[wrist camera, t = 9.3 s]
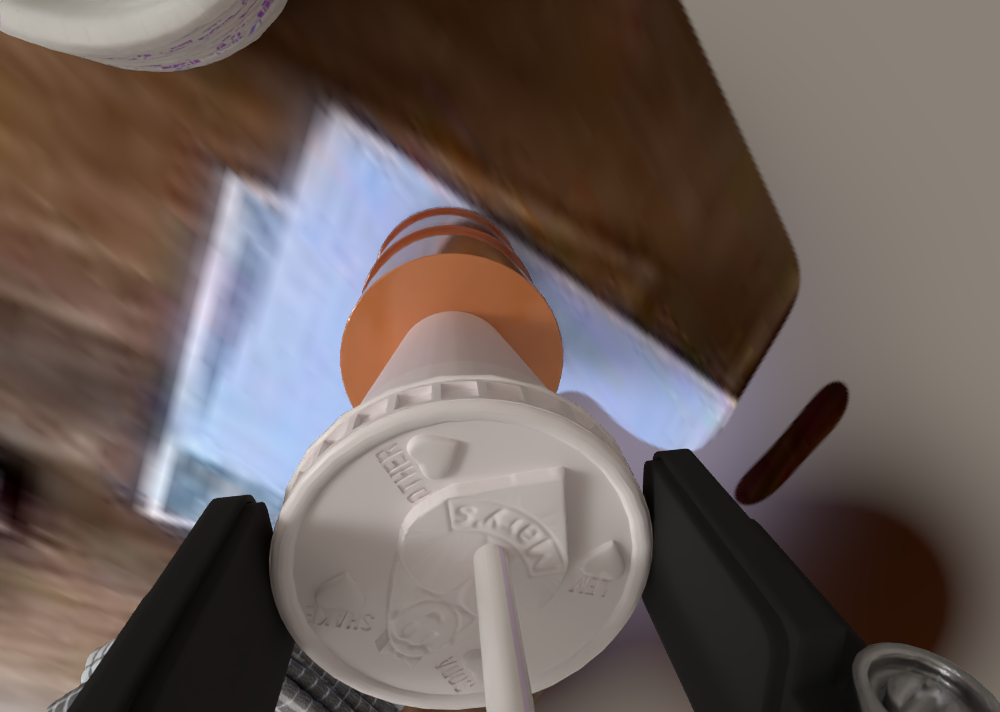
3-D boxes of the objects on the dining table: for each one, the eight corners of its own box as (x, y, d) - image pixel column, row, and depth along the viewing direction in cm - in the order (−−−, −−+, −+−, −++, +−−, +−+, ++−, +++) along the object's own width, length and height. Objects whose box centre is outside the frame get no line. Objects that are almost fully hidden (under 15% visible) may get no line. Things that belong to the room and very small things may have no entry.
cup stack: (355, 226, 29) (288, 277, 16) (500, 190, 30) (549, 211, 16) (399, 361, 32) (372, 497, 19) (531, 328, 32) (593, 439, 19)
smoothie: (586, 346, 18) (976, 834, 5) (470, 480, 19) (537, 1148, 6) (432, 226, 16) (407, 503, 3) (315, 384, 17) (-52, 1049, 4)
